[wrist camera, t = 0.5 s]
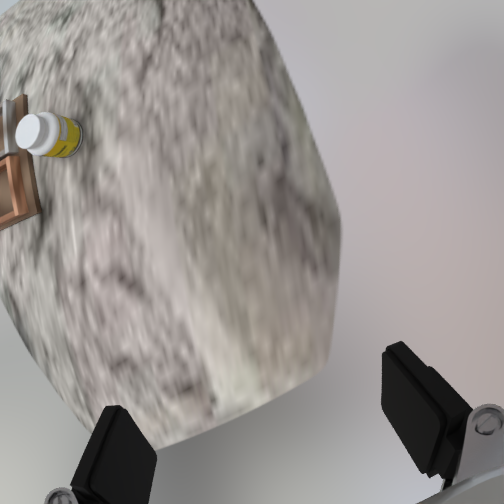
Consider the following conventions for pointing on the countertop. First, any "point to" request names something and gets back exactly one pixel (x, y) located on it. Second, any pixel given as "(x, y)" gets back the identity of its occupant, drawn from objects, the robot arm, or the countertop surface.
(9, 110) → the board
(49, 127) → the supplement bottle
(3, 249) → the countertop surface
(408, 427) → the robot arm
